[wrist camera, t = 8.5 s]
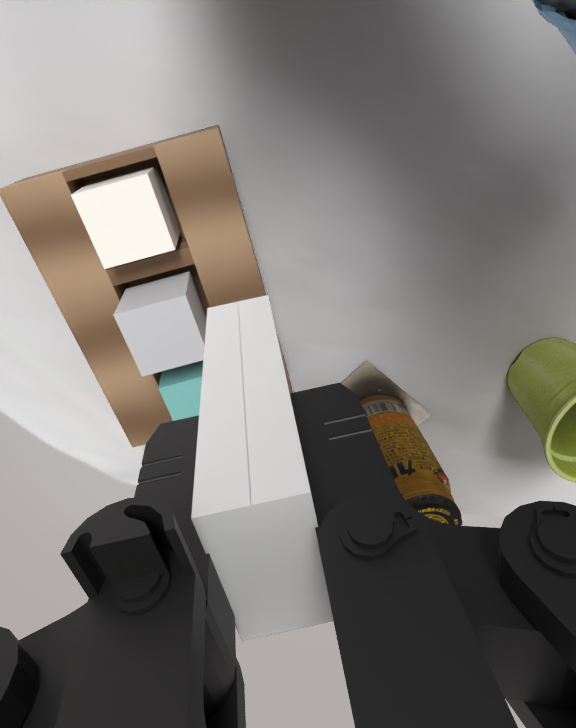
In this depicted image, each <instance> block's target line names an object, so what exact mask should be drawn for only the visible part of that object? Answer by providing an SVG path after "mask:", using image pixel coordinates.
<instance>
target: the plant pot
mask: <svg viewBox="0 0 576 728" xmlns="http://www.w3.org/2000/svg"><path fill="white" fill-rule="evenodd" d="M507 381H508V386H509V389H510V391H511V392H512V394H513V396H514V397H515V399H516V400H517V402H518V403H519V405H520V406H521V408H522V409H523V410H524V412H525V414H526V415H527V417H528V418H529V420H530V421H531V423H532V424H533V426H534V427H535V429H536V431H537V432H538V434H539V435H540V437H541V441H542V444H543V446H544V453H545V457H546V460H547V462H548V464H549V465H550V467H551V468H552V470H553V471H554V472H555V473H556V474H557V475H559V476H560V477H562V478H564V479H566V480H568V481H571V482H576V344H574V343H572V342H570V341H567V340H564V339H561V338H547V339H543V340H540V341H537V342H535V343H533V344H531V345H530V346H528V347H527V348H525V349H524V350H523V351H522V352H521V354H520V356H519V358H518V359H517V360H516V361H515V363H514V364H513V365H511V367H510V369H509V372H508V377H507Z"/></svg>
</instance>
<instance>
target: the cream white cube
mask: <svg viewBox="0 0 576 728" xmlns="http://www.w3.org/2000/svg"><path fill="white" fill-rule="evenodd" d="M71 197H72V199H73V201H74V203H75V205H76V208H77V210H78V212H79V214H80V217H81V219H82V221H83V223H84V225H85V228H86V230H87V232H88V234H89V236H90V239H91V241H92V243H93V245H94V247H95V250H96V252H97V254H98V256H99V258H100V261H101V263H102V265H103V267H104V269H107V268H111V267H114V266H118V265H122V264H125V263H129V262H133V261H136V260H140V259H144V258H147V257H151V256H155V255H158V254H162V253H166V252H169V251H173V250H175V249H176V246H177V242H178V239H179V235H180V229H179V226H178V223H177V220H176V218H175V215H174V212H173V209H172V206H171V203H170V201H169V198H168V195H167V192H166V189H165V186H164V184H163V181H162V178H161V175H160V172H159V169H158V167H157V164H154V165H151V166H147V167H144V168H140V169H136V170H133V171H129V172H125V173H122V174H118V175H115V176H111V177H107V178H104V179H100V180H96V181H93V182H89V183H88V184H86V185H85V186H83V187H82V188H80V189H79V190H77V191H76V192H74V193H73V194H71Z"/></svg>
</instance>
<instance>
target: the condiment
mask: <svg viewBox="0 0 576 728" xmlns="http://www.w3.org/2000/svg"><path fill="white" fill-rule="evenodd" d="M341 384H343V385H344V386H346V387H347V388H348V389H350V390H351V391H352V392H354V393H355V394H356V395H357V396H358V398H359V400H360V402H361V405H362V407H363V409H364V412H365V415H366V416H367V418H368V421H369V423H370V425H371V428H372V432H374V434H375V437H376V439H377V441H378V444H379V446H380V448H381V450H382V453H383V455H384V457H385V460H386V462H387V464H388V466H389V469H390V471H391V473H392V476H393V478H394V480H395V482H396V485H397V487H398V489H399V491H400V493H401V494H402V496H403V498H404V499H405V501H406V502H407V503H408V504H410V505H411V506H412V507H413V508H414V509H415V510H416V511H418V512H420V513H421V514H423V515H425V516H426V517H428V518H431V519H433V520H436V521H439V522H442V523H446V524H452V525H459V526H461V525H462V519H461V513H460V510H459V509H458V507H457V505H456V504H455V502H454V499H453V497H452V495H451V493H450V484H449V480H448V478H447V476H446V475H445V473H444V471H443V469H442V468H441V466H440V465H439V463H438V461H437V459H436V457H435V456H434V454H433V453H432V451H431V449H430V447H429V446H428V443H427V442H426V440H425V439H424V437H423V435H422V434H421V432H420V430H419V428H418V426H420V425H421V424H422V423H423V422H424V421H425V420H427V419H428V418H429V417H430V416H431V414H430V413H429V412H428V411H426V410H425V409H424V408H423V407H422V406H421V405H420V404H418V403H417V402H416V401H415V400H414V399H413V398H411V397H410V396H409V395H408V394H406V393H405V392H404V391H403V390H402V389H401V388H399V387H398V386H397V385H395V384H394V383H393V382H392V381H391V380H390V379H389V378H387V377H386V376H385V375H384V374H383V373H382V372H380V371H379V370H378V369H376V368H375V367H374V366H373V365H372V364H371V363H369V362H368V361H366V362H365V363H364V364H362V365H361V366H360V367H359V368H357V369H356V370H355V371H354V372H353V373H352V374H351V375H350V376H349V377H348V378H347V379H345V380H344V381H343V382H342V383H341ZM379 390H380V391H379Z"/></svg>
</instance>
